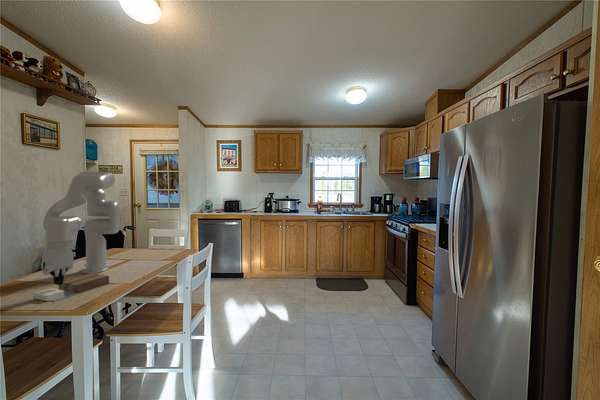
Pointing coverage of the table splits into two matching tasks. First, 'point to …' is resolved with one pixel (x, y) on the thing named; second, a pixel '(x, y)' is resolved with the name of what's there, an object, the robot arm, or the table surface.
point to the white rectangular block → (49, 294)
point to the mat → (66, 295)
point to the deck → (84, 283)
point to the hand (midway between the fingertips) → (58, 284)
